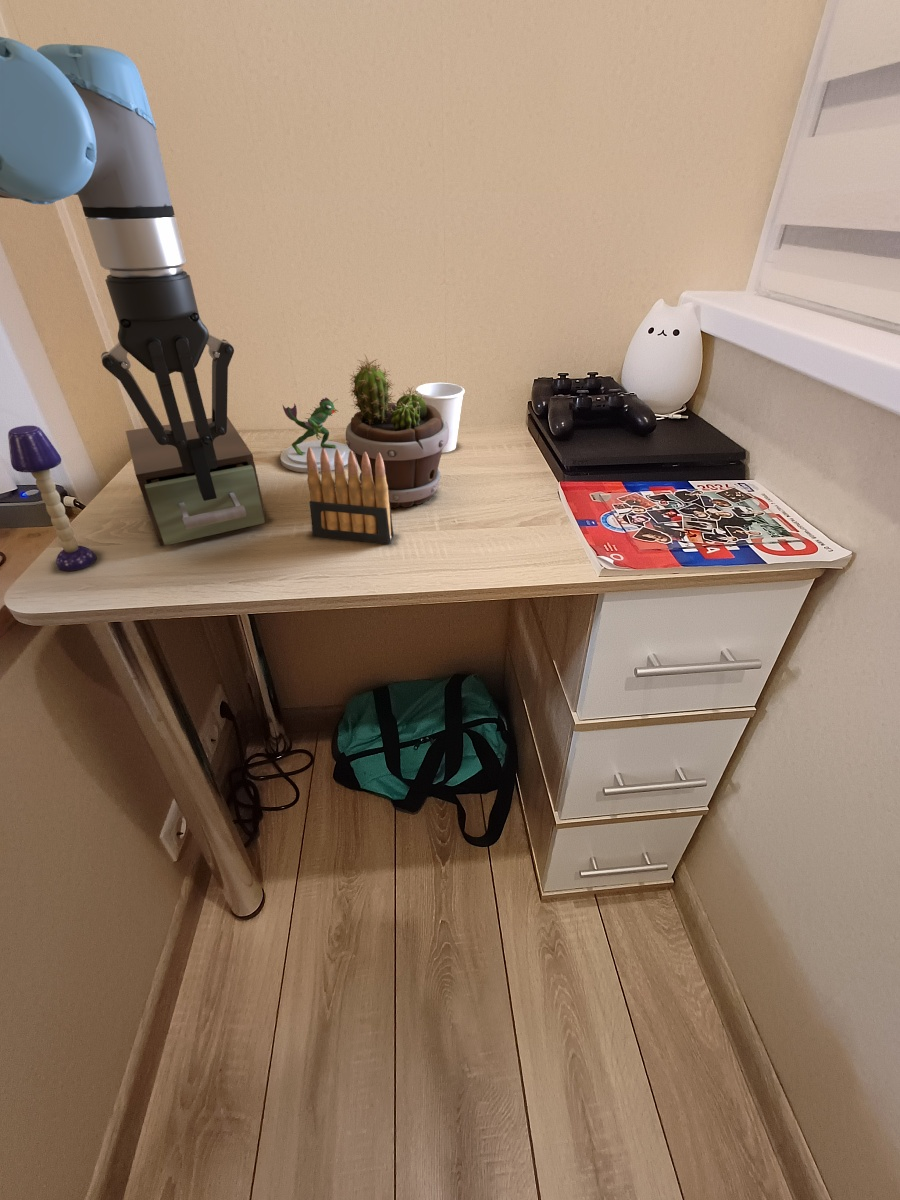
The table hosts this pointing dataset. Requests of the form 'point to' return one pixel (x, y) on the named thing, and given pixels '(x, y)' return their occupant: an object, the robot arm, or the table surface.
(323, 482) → the ammunition clip
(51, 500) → the toy lamp
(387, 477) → the flowerpot
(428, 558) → the table surface
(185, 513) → the drawer
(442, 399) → the dixie cup
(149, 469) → the cabinet
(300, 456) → the monster figurine
